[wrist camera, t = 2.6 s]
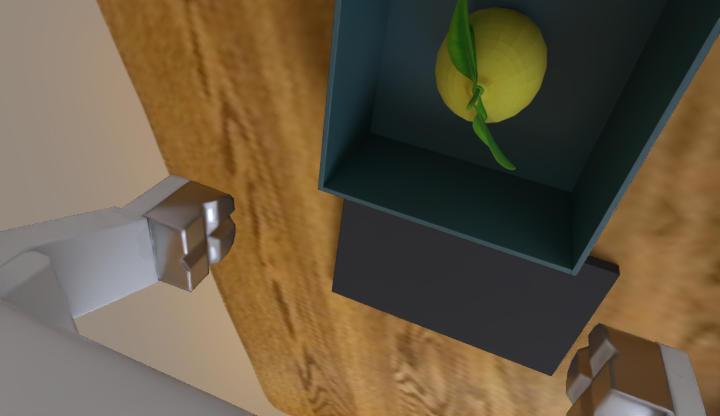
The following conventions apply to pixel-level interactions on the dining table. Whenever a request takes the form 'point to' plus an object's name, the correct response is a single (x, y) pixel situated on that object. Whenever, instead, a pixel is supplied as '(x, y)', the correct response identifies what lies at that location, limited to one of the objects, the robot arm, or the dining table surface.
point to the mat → (467, 287)
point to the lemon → (490, 67)
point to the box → (508, 119)
